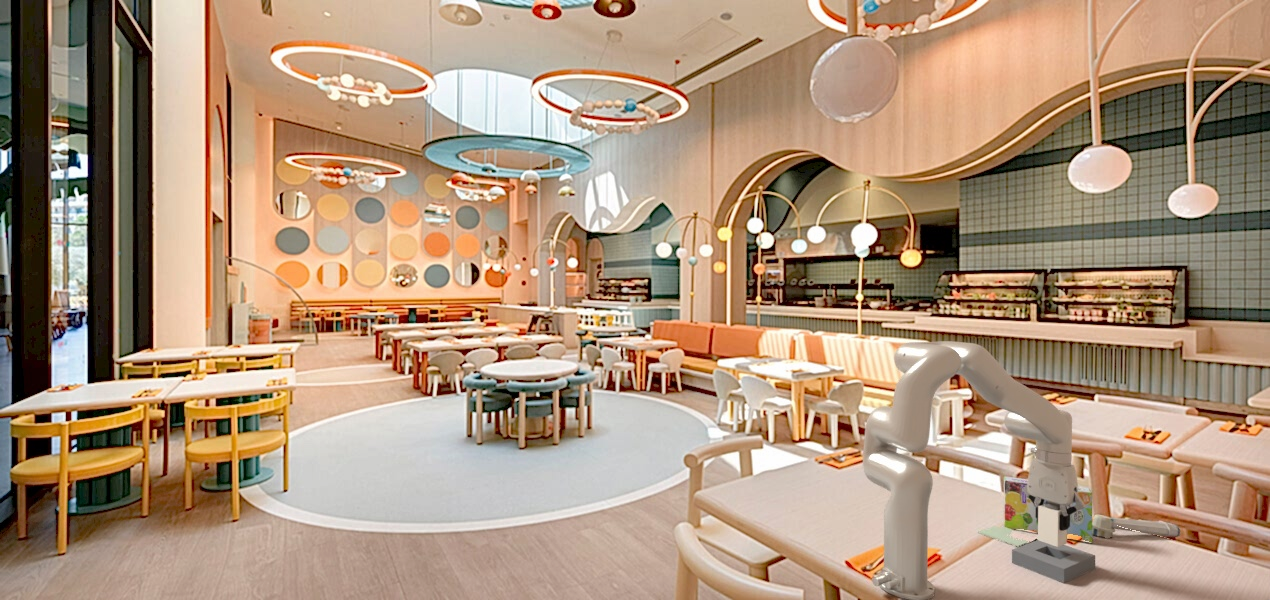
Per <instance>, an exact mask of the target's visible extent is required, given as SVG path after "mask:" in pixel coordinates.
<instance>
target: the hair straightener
mask: <svg viewBox="0 0 1270 600" xmlns="http://www.w3.org/2000/svg"><path fill="white" fill-rule="evenodd" d="M1117 525H1118V526H1117ZM1119 526H1121V527H1119ZM1122 527H1124V528H1122ZM1125 528H1128V529H1125ZM1130 529H1131V530H1130ZM1116 530H1119V531H1126V532H1127V531H1128V532H1135V531H1132V530H1136V531H1140V532H1141V534H1148V535H1154V536H1160V537H1163V538H1167V537H1168V538H1169V537H1170V538H1178V537H1180V536H1181V529H1180V527H1179V526H1178V525H1177V524H1175V523H1171V522H1166V521H1163V520H1158V521H1156V520H1155V521H1154V520H1144V519H1143V520H1142V519H1134V518H1133V519H1131V518H1121V517H1118V518H1117V517H1110V516H1107V515H1103V514H1097V513H1096V514H1095V515H1094V516H1093V518H1092V535H1093V534H1094V535H1093V536H1096V535H1097V536H1096V537H1103V538H1104V537H1105V538H1104V539H1108V538H1110V537H1112V538H1113V533H1116ZM1140 532H1139V533H1140ZM1135 533H1136V532H1135Z"/></svg>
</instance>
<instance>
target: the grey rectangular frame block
mask: <svg viewBox="0 0 1270 600" xmlns="http://www.w3.org/2000/svg"><path fill="white" fill-rule="evenodd" d="M1011 564H1014V565H1017V566H1019V567H1022V568H1024V569H1027V570H1029V571H1032V572H1035V573H1037V574H1040V575H1041V576H1045V577H1047V578H1049V579H1052V580H1055V581H1058V582H1060V583H1063V584H1065V583H1067V582H1070V581H1072V580H1074V579H1076V578H1079V577H1080V576H1082V575H1085V574H1087V573H1090V572H1091V571H1094V570H1095V569H1096V555H1095V554H1092V553H1089V552H1086V551H1084V550H1080V549H1077V548H1075V547H1071V546H1069V545H1067V544H1064V545H1062V546H1059V547H1056V546H1053V545H1050V544H1048V543H1045V542H1042V541H1039V540H1036V541H1033V542H1031V543H1028V544H1025V545H1023V546H1020V547H1015V548H1014V549H1011Z"/></svg>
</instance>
